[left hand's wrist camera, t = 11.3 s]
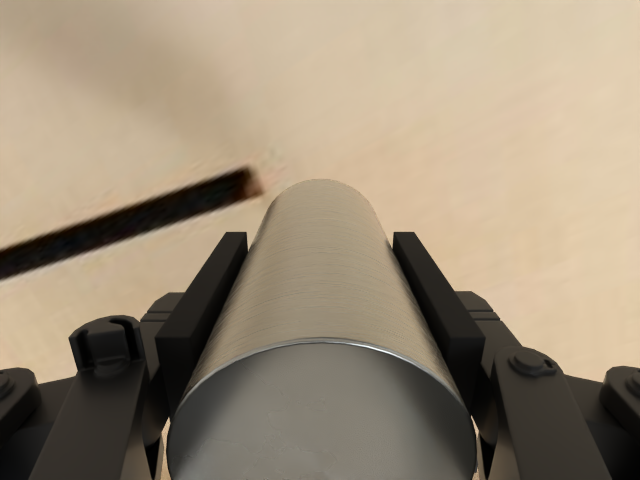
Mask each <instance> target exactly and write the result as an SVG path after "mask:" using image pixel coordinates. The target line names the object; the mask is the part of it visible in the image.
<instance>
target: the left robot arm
mask: <svg viewBox="0 0 640 480" xmlns="http://www.w3.org/2000/svg"><path fill="white" fill-rule="evenodd" d="M392 250H393V252H394V254H395V256H396V258H397V260H398V263H399V265H400V267H401V269H402V271H403V273H404V275H405V278H406V280H407V282H408V284H409V286H410V288H411V290H412V293H413V295H414V297H415V299H416V301H417V303H418V305H419V307H420V310H421V312H422V314H423V316H424V318H425V320H426V322H427V325H428V327H429V329H430V331H431V333H432V335H433V337H434V340H435V342H436V344H437V346H438V348H439V350H440V352H441V354H442V357H443V359H444V361H445V363H446V365H447V367H448V369H449V372H450V374H451V376H452V378H453V380H454V382H455V384H456V387H457V389H458V391H459V393H460V395H461V397H462V399H463V402H464V404H465V406H466V408H467V410H468V412H469V415H470V417H471V415H472V417H473V419H474V421H475V423H476V425H477V428H478V430H479V433H478V438H477V459H476V468H475V472H474V473H476V472H477V467H478V469H479V478H480V480H640V368H635V367H628V366H618V367H612V368H611V369H610V370H608V371H607V373H606V375H605V378H604V381H603V383H601V382H597V381H592V380H587V379H582V378H577V377H573V376H569V375H565V374H564V373H563V371H562V369H561V368H560V367H559V366H558V364H557V363H556V362H555V361H554V360H552V359H551V358H550V357H548V356H547V355H545V354H543V353H541V352H538V351H536V350H534V349H530V348H527V347H523V346H522V345H521V344H520V343H519V341H518V340H517V339H516V338H515V336H514V335H513V334H512V333H511V331H510V330H509V329H508V328H507V327H506V325H505V324H504V323H503V322H502V321H500V318H499V317H498V315H497V314H496V313H495V312H493V309H492V308H491V307H490V305H489V304H488V303H487V302H486V300H484V299H483V298H481V297H480V296H478V295H476V294H475V293H473V292H472V291H454V290H453V288H452V287H451V285H450V284H449V283H448V281H447V280H446V278H445V277H444V275H443V274H442V272H441V271H440V269H439V268H438V266H437V265H436V263H435V262H434V261H433V259H432V258H431V256H430V255H429V253H428V252H427V250H426V249H425V247H424V246H423V244H422V243H421V241H420V240H419V239H418V237H417V236H416V234H415V233H414V232H394V235H393V249H392ZM247 253H248V246H247V232H226V233H225V235H224V236H223V237H222V239H221V240H220V242H219V243H218V245H217V246H216V248H215V249H214V251H213V252H212V254H211V255H210V257H209V258H208V259H207V261H206V262H205V264H204V265H203V267H202V268H201V270H200V271H199V273H198V274H197V276H196V277H195V278H194V280H193V281H192V283H191V284H190V286H189V287H188V289H187V290H186V292H185V293H167V294H166V295H164V296H163V297H161V298H160V299H158V300H156V301H155V302H154V303H153V305H152V306H151V307H150V308H149V310H148V311H147V313H146V314H145V315H144V316H143V317H142V319H141V320H140V322H139V321H138V320H136V319H135V318H134V317H130V316H126V315H115V316H108V317H103V318H99V319H96V320H94V321H91V322H89V323H86V324H84V325H83V326H81V327H80V328H78V329H76V330H75V331H74V332H73V333H72V334H71V335H70V337H69V342H70V345H71V349H72V352H73V356H74V359H75V363H76V366H77V370H78V372H77V374H76V376H74V377H70V378H66V379H61V380H56V381H52V382H47V383H42V384H38V383H37V380H36V377H35V375H34V373H33V372H32V371H30V370H29V369H26V368H10V369H3V370H0V480H160V479H161V470H162V462H163V453H164V444H163V438H162V433H161V432H162V430H163V428H164V426H165V424H166V422H167V419H168V417H169V418H170V423H171V420H172V418H173V416H174V413H175V411H176V409H177V407H178V405H179V402H180V400H181V398H182V396H183V394H184V392H185V389H186V387H187V385H188V383H189V381H190V378H191V376H192V374H193V372H194V370H195V367H196V365H197V363H198V361H199V359H200V356H201V354H202V352H203V350H204V348H205V345H206V343H207V341H208V339H209V337H210V335H211V332H212V330H213V328H214V326H215V324H216V321H217V319H218V317H219V315H220V313H221V310H222V308H223V306H224V304H225V302H226V299H227V297H228V295H229V293H230V291H231V289H232V286H233V284H234V282H235V280H236V278H237V275H238V273H239V271H240V269H241V267H242V264H243V262H244V260H245V258H246V256H247Z"/></svg>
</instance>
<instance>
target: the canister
mask: <svg viewBox="0 0 640 480" xmlns="http://www.w3.org/2000/svg"><path fill="white" fill-rule="evenodd" d="M166 456H167V465H168V471H169V474H170V477H171V480H472V478H473V475H474V472H475V468H476V459H477V440H476V433H475V429H474V425H473V421H472V419H471V417H470V415H469V412H468V410H467V408H466V406H465V404H464V402H463V399H462V397H461V395H460V393H459V391H458V389H457V387H456V384H455V382H454V380H453V378H452V376H451V374H450V372H449V369H448V367H447V365H446V363H445V361H444V359H443V357H442V354H441V352H440V350H439V348H438V346H437V344H436V342H435V340H434V337H433V335H432V333H431V331H430V329H429V327H428V325H427V322H426V320H425V318H424V316H423V314H422V312H421V310H420V307H419V305H418V303H417V301H416V299H415V297H414V295H413V293H412V290H411V288H410V286H409V284H408V282H407V280H406V278H405V275H404V273H403V271H402V269H401V267H400V265H399V263H398V260H397V258H396V256H395V254H394V252H393V250H392V248H391V245H390V243H389V241H388V239H387V237H386V235H385V233H384V231H383V228H382V226H381V224H380V222H379V220H378V218H377V216H376V213H375V211H374V209H373V208H372V206H371V205H370V203H369V202H368V201H367V199H366V198H365V197H364V196H363V195H362V194H360V193H359V192H358V191H357V190H355V189H354V188H352V187H350V186H348V185H346V184H344V183H341V182H338V181H334V180H328V179H313V180H308V181H303V182H300V183H297V184H295V185H293V186H291V187H289V188H288V189H286V190H285V191H283V192H282V193H281V194H280V195H279V196H277V197H276V199H275V200H274V201H273V202H272V203H271V205H270V206H269V208H268V210H267V212H266V214H265V216H264V218H263V221H262V223H261V225H260V227H259V229H258V232H257V234H256V236H255V238H254V240H253V242H252V245H251V247H250V249H249V251H248V253H247V256H246V258H245V260H244V262H243V264H242V267H241V269H240V271H239V273H238V275H237V278H236V280H235V282H234V284H233V286H232V289H231V291H230V293H229V295H228V297H227V299H226V302H225V304H224V306H223V308H222V310H221V313H220V315H219V317H218V319H217V321H216V324H215V326H214V328H213V330H212V332H211V335H210V337H209V339H208V341H207V343H206V345H205V348H204V350H203V352H202V354H201V356H200V359H199V361H198V363H197V365H196V367H195V370H194V372H193V374H192V376H191V378H190V381H189V383H188V385H187V387H186V389H185V392H184V394H183V396H182V398H181V400H180V402H179V405H178V407H177V409H176V411H175V413H174V416H173V418H172V420H171V423H170V427H169V431H168V435H167V446H166Z"/></svg>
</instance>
